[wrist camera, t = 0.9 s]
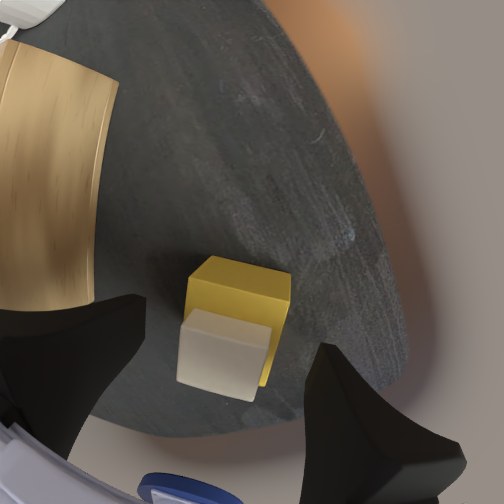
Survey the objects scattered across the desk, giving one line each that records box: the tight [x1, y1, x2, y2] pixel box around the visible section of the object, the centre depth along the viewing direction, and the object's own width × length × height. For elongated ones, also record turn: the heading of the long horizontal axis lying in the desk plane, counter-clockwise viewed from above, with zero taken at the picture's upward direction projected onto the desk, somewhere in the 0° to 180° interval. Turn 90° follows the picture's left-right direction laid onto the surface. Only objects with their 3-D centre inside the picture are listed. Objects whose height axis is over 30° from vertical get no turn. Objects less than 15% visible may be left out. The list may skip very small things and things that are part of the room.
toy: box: [176, 255, 291, 402], centre depth 12 cm, size 4×4×5 cm
